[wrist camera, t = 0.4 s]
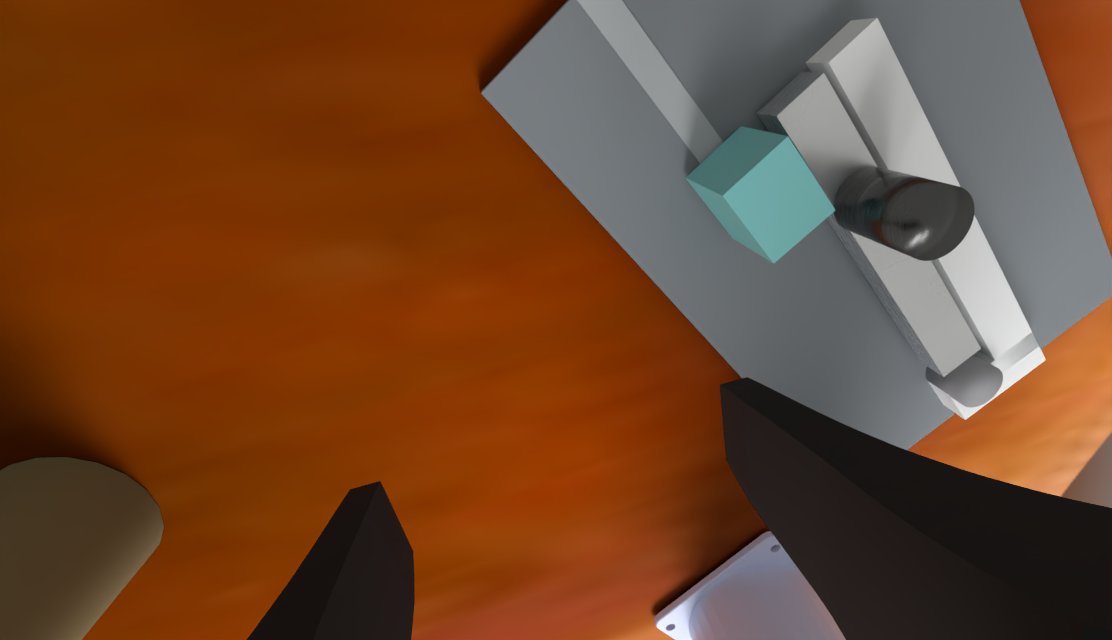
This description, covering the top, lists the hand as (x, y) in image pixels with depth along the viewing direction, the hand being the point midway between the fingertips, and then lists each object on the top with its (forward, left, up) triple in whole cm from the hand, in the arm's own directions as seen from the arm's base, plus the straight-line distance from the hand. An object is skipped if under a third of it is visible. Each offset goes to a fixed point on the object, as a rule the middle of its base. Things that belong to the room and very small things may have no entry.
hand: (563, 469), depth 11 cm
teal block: (-2, -8, -10) cm, 13 cm away
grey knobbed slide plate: (-7, -12, -10) cm, 17 cm away
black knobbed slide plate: (-8, -11, -9) cm, 16 cm away
